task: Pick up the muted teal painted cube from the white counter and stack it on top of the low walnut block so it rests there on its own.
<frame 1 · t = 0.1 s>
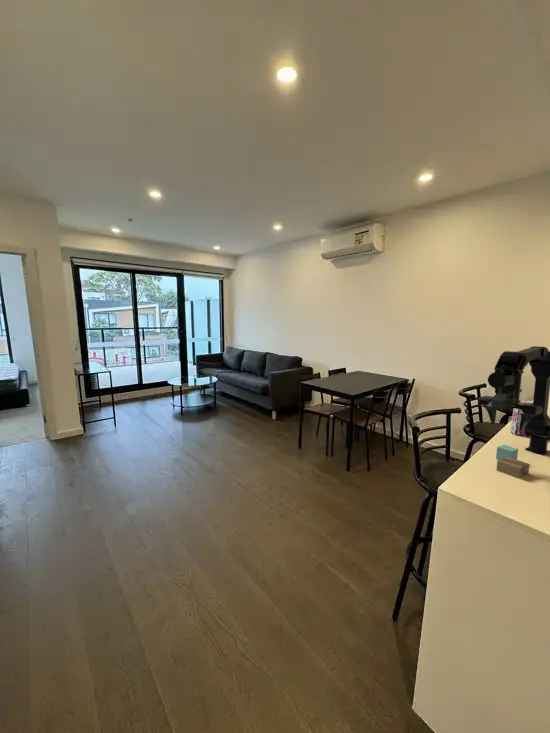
hand: (506, 427, 118), 14 cm above the table, tool pointing down, fingers open, 9 cm apart
walnut block: (512, 472, 114), on the table
candy bar box: (525, 435, 154), on the table
teal cube: (506, 460, 124), on the table
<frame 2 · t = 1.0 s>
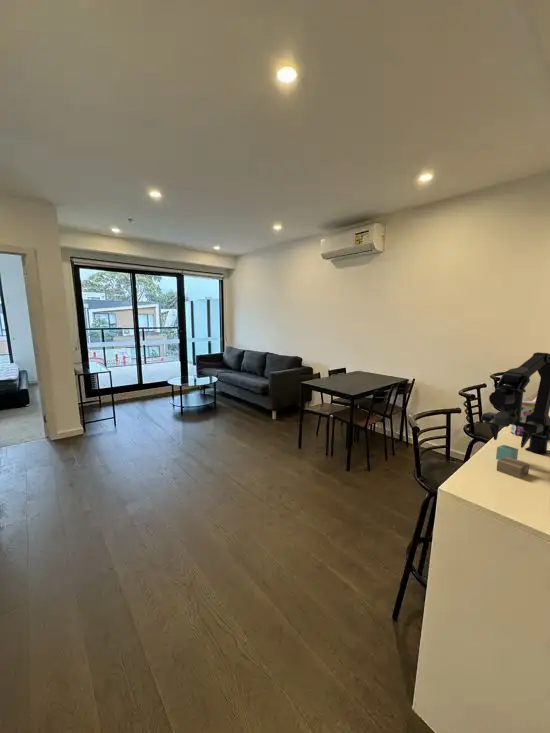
hand: (508, 443, 123), 7 cm above the table, tool pointing down, fingers open, 9 cm apart
nothing on the table moved.
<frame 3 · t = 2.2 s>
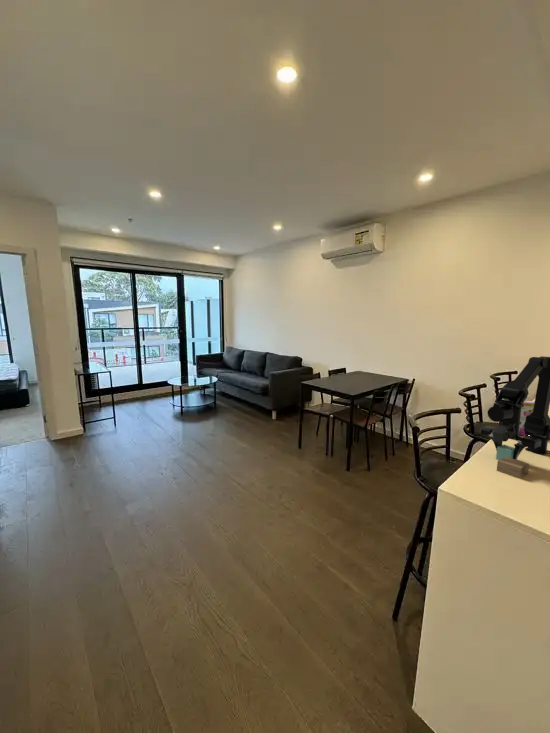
hand: (506, 457, 124), 1 cm above the table, tool pointing down, fingers closed on teal cube, 5 cm apart
teal cube: (506, 460, 124), on the table, touching gripper
everything else where it was.
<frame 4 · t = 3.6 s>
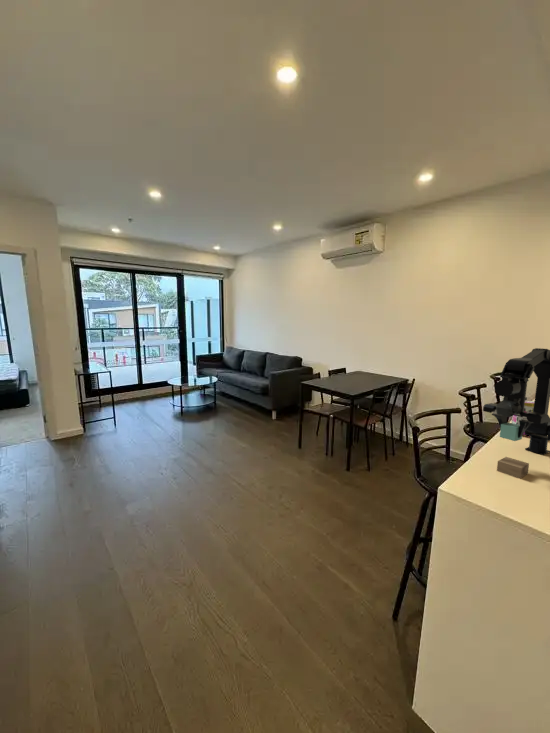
hand: (511, 435, 118), 12 cm above the table, tool pointing down, fingers closed on teal cube, 5 cm apart
teal cube: (510, 438, 118), point 10 cm above the table, touching gripper
everything else where it was.
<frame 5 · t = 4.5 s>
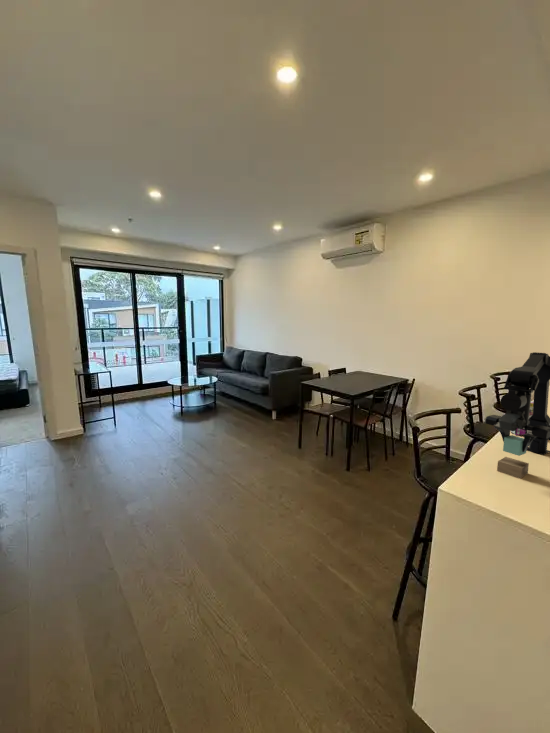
hand: (514, 449, 113), 8 cm above the table, tool pointing down, fingers closed on teal cube, 5 cm apart
teal cube: (514, 452, 113), point 7 cm above the table, touching gripper
everything else where it was.
when the fingers open (6 cm above the table, at t = 5.2 s): teal cube drops 2 cm, point 4 cm above the table.
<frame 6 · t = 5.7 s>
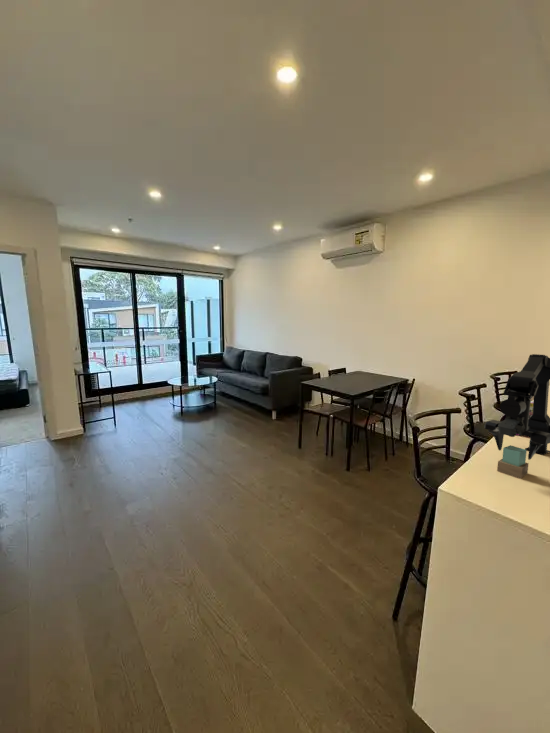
hand: (514, 454, 113), 6 cm above the table, tool pointing down, fingers open, 9 cm apart
teal cube: (513, 462, 113), point 4 cm above the table
everything else where it was.
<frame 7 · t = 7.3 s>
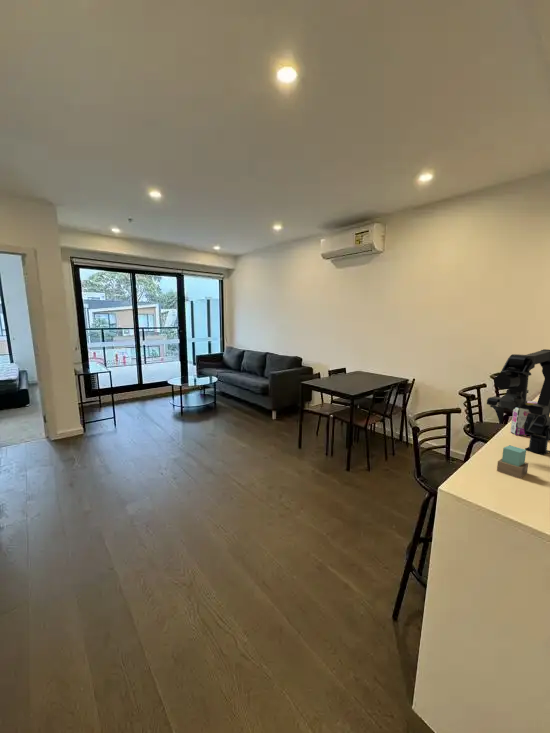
hand: (514, 426, 125), 13 cm above the table, tool pointing down, fingers open, 9 cm apart
walnut block: (511, 472, 114), on the table, touching teal cube
teal cube: (513, 462, 113), point 4 cm above the table, touching walnut block
everything else where it was.
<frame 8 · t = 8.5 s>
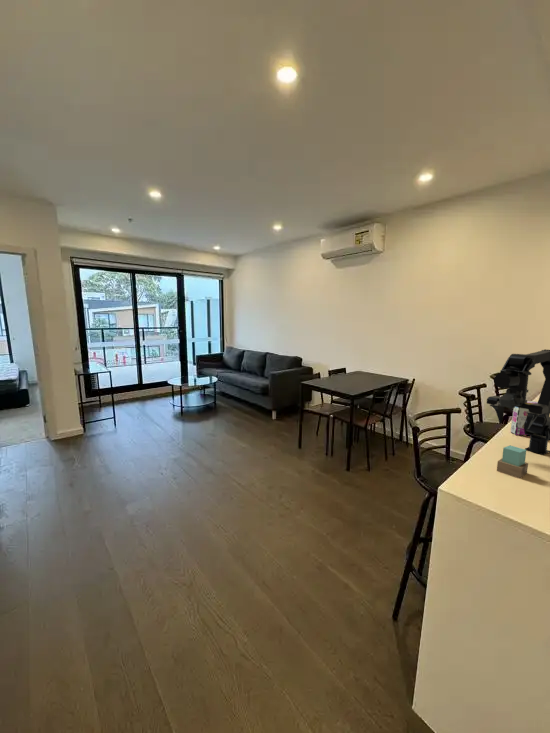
hand: (513, 425, 125), 13 cm above the table, tool pointing down, fingers open, 9 cm apart
nothing on the table moved.
at the end: teal cube 0.3 cm off-centre on the walnut block, point 4.0 cm above the walnut block's base; teal cube tilted 0°; the gripper is holding nothing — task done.
